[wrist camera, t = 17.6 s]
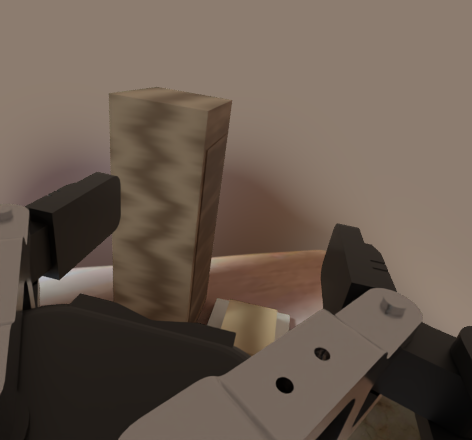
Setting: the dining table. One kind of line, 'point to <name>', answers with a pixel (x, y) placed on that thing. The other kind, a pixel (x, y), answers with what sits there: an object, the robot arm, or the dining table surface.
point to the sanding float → (250, 325)
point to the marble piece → (387, 423)
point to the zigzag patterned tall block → (166, 198)
